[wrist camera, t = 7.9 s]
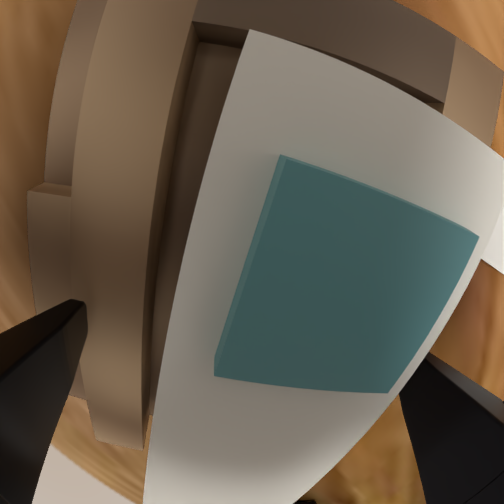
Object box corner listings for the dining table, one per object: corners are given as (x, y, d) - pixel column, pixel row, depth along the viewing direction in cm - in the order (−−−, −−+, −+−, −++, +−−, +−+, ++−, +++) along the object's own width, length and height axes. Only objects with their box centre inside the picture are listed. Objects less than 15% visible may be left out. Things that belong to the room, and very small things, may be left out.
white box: (261, 417, 13) (275, 527, 8) (157, 400, 12) (141, 516, 7) (386, 134, 8) (531, 174, 3) (236, 78, 7) (253, 18, 2)
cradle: (350, 413, 15) (366, 458, 12) (72, 379, 13) (53, 426, 10) (482, 97, 9) (538, 103, 6) (97, -13, 6) (57, -46, 4)
